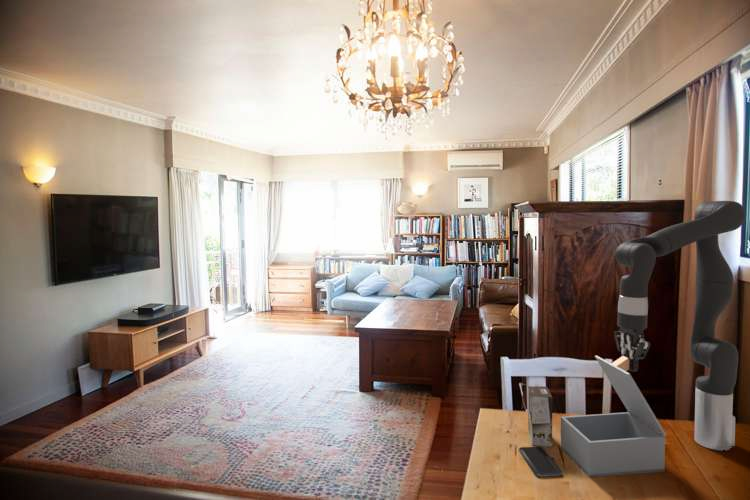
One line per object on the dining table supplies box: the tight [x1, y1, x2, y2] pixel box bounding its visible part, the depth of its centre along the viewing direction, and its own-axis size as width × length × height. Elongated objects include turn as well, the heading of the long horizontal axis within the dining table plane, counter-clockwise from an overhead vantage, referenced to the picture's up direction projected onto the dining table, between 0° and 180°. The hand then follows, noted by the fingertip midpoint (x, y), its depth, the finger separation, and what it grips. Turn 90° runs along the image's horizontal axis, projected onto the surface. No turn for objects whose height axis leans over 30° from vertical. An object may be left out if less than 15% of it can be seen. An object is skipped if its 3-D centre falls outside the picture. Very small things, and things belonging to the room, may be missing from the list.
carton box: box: [560, 411, 666, 478], centre depth 132 cm, size 22×16×10 cm
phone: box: [518, 446, 564, 479], centre depth 132 cm, size 8×1×15 cm
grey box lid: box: [594, 355, 667, 437], centre depth 131 cm, size 22×16×5 cm
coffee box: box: [527, 385, 553, 447], centre depth 144 cm, size 9×6×16 cm
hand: (629, 369), depth 131 cm, fingers closed on grey box lid, 2 cm apart
